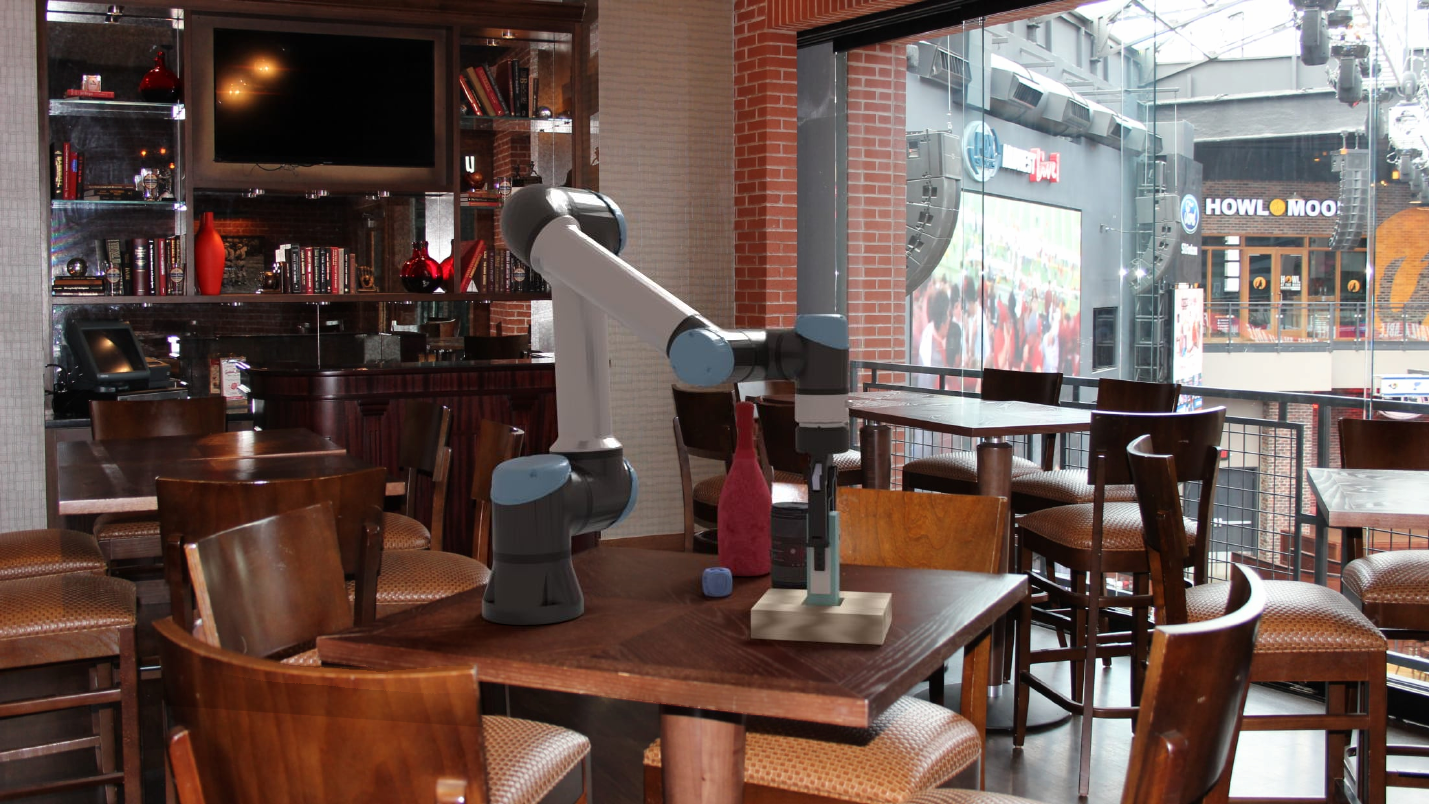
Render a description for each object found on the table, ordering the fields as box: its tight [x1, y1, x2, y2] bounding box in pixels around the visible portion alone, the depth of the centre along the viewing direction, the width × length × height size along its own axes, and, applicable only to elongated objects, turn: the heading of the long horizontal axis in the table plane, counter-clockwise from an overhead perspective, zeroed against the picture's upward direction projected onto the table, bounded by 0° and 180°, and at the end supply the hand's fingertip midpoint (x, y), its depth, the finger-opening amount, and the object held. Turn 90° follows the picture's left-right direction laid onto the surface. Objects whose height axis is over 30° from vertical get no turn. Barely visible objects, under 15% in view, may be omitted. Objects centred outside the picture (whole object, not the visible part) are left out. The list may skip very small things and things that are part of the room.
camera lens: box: [769, 501, 808, 590], centre depth 193 cm, size 8×8×15 cm
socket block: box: [750, 588, 893, 645], centre depth 173 cm, size 18×14×4 cm
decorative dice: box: [701, 567, 733, 598], centre depth 197 cm, size 4×4×4 cm
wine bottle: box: [717, 400, 774, 577], centre depth 214 cm, size 10×10×30 cm
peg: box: [807, 510, 840, 606], centre depth 173 cm, size 4×4×14 cm
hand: (823, 589), depth 173 cm, fingers closed on peg, 4 cm apart
